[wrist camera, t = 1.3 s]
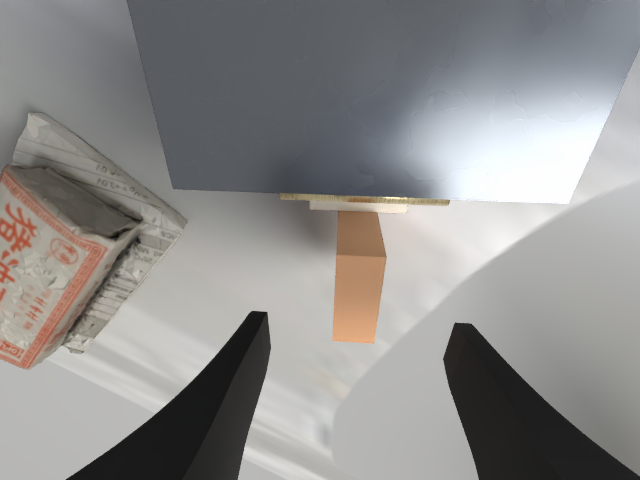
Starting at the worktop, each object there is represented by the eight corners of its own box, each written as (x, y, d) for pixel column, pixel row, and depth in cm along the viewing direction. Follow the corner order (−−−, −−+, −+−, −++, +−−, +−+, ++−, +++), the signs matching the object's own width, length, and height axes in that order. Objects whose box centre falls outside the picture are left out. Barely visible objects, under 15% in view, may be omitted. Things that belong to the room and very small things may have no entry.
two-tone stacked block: (433, 25, 12) (480, 9, 8) (391, 280, 19) (405, 345, 15) (310, 24, 13) (293, 8, 8) (311, 276, 19) (301, 338, 15)
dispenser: (567, -28, 13) (697, -79, 8) (502, 171, 17) (563, 215, 12) (190, -27, 14) (109, -72, 9) (220, 162, 18) (175, 200, 13)
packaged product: (49, 393, 24) (-97, 324, 21) (93, 343, 28) (-24, 279, 25) (157, 258, 16) (-46, 121, 13) (195, 218, 21) (47, 106, 18)
